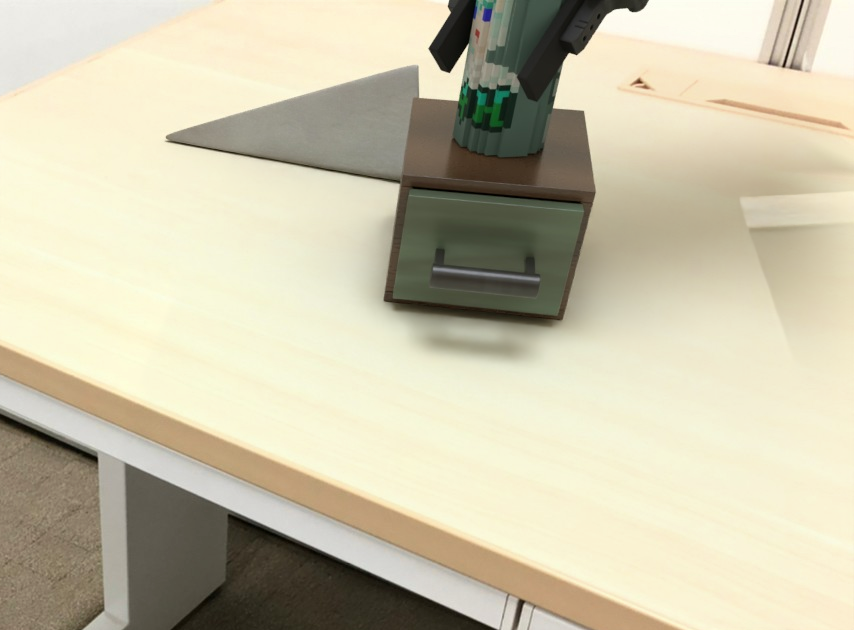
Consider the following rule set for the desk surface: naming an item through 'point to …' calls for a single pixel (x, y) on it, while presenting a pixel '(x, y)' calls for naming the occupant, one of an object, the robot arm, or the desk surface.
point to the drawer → (486, 250)
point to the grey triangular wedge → (324, 126)
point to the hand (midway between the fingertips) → (482, 74)
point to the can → (504, 79)
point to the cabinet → (493, 175)
